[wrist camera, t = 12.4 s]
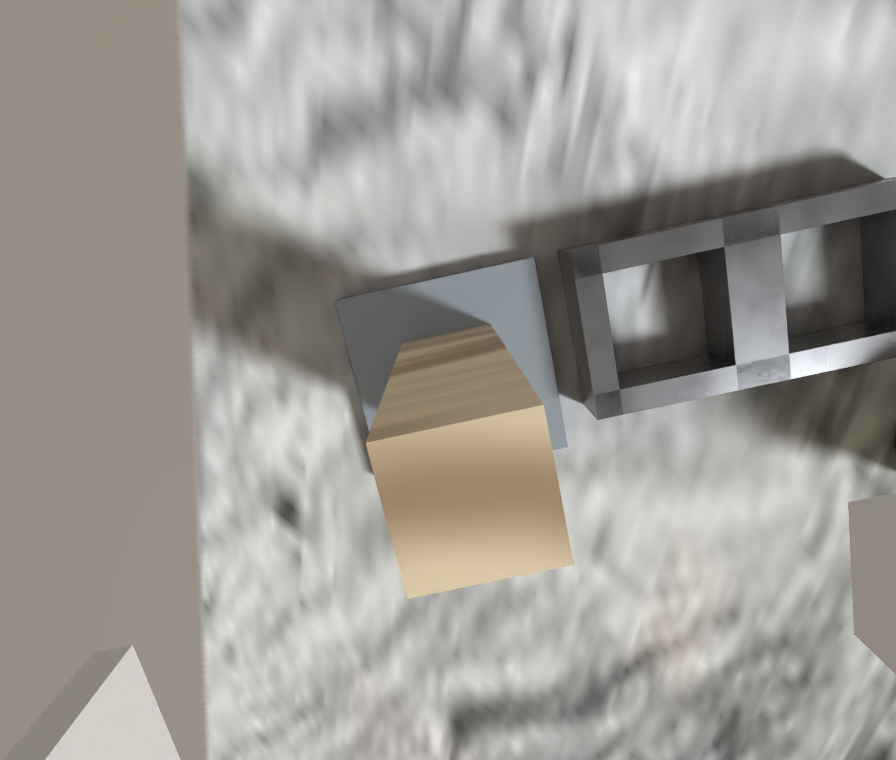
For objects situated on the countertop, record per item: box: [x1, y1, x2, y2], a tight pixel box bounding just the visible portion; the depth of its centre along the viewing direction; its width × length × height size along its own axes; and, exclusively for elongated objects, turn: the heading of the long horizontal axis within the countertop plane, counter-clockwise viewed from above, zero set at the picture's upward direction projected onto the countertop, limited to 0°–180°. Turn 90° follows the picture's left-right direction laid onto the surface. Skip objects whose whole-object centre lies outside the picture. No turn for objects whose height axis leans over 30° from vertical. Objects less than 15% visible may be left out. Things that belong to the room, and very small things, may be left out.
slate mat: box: [335, 257, 568, 450], centre depth 32 cm, size 11×11×1 cm
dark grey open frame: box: [558, 177, 896, 420], centre depth 30 cm, size 9×18×3 cm, turn 102°
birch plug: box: [366, 324, 574, 599], centre depth 24 cm, size 5×5×16 cm
